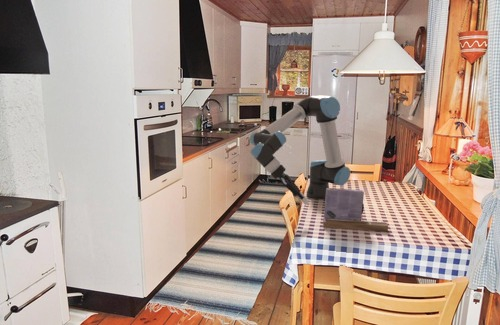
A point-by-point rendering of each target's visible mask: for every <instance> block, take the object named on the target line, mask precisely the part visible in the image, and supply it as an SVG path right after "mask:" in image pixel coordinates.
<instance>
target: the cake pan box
mask: <svg viewBox="0 0 500 325" xmlns="http://www.w3.org/2000/svg"><path fill="white" fill-rule="evenodd" d="M364 192H365V191H364V190H362V189H348V188H334V187H333V188H332V187H331V188H330V187H329V188H326V197H325V199H324V200H325V201H324V213H323V218H325V219H341V220H357V221H363V219H362V218H363V213H364V209H365V208H364V207H365V206H364V196H365V193H364Z"/></svg>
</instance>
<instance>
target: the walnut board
mask: <svg viewBox="0 0 500 325" xmlns="http://www.w3.org/2000/svg"><path fill="white" fill-rule="evenodd" d="M322 219H323V221H322V226H323V228H325V229H335V230H336V229H337V230H338V229H340V230H352V231H354V230H356V231H367V232H368V231H369V232H379V233H380V232H384V233H388V232H389V230H388V229H389V225H388V223H387V221H383V222H382V221H370V220H361V221H357V220H341V219H325V218H324V217H323V218H322Z"/></svg>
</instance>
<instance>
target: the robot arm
mask: <svg viewBox="0 0 500 325" xmlns="http://www.w3.org/2000/svg"><path fill="white" fill-rule="evenodd" d="M340 105H341V104H340V102H339V100H338V99H337V98H336V97H334V96H330V95H310V96H308V97H305V98H303V99H302V100H300V101H298V102H297V103H296V104H294V105H293V107H292V109H291V110H289V111H288V112H286V113H284V114H283V115H281V116H280V117H279V118H278V119H276V120H275V121H273V122H272V123H271V124H269V125H268V126H267V127H265V128H264V129H262V130H261V131H259V132H258V131H257V132H253V133H251V135H250V137H249V142H250V144H251V145H252V146H253V147H252V148H251V149H250V154H251V155H252V156H253V158H254V159H255V160H257V162H258V163H259V164H260V165H261V166H262V167H263V168H264V170H265V172H266V171H267V173H268V174H270V176H271V177H272V178H273V179H274V180H277V179H279V181H280V182H281V184H282V185H283V186H285V188H286V189H288V190H289V191H290V192H291V193H292V195H294V197H297V198H298V199H299V200H300V201H301V202H302V203H303V204H304V206H305V205H307V204H308V203H309V202H310V199H308V198H312V199H317V200H325V197H326V188H330V186H329V184H333V185H335V186H344V185H346V184H347V183H348V181H349V179H350V177H351V170H350V168H349V167H348V166H347V165H346V163H345V160H344V159H342V156H341V148H340V145H339V144H340V143H339V138H338V137H339V136H338V131H337V125H336V121H337V119H338V116H339V114H340V111H341V106H340ZM310 117H315V121H316V123H317V124H319V127H320V133H321V137H322V142H323V150H324V154H325V159H317V160H316V159H315V160H314V159H313V160H312V161H311V162H310V167H309V184H308V187H307V190H306V195H305V194H304V193H302V189H300V188H299V187H298V185H297V184H296V183H295V182H294V181H293V179H292V178H291V177H290V176H289V175H288V174H286V173H285V172H286V168H285V167H284V165H283V164H281V162H280V161H279V160H278V159H277V158H276V157H275V156H274V155H275V153H276V152H277V151H279V150H280V149H281V148H282V147H283V146H284V145H285V144H286V142H287V137H286V135H285V134H284V132H285V131H286V130H287V129H289V128H291V127H292V126H293V125H295V124H296V123H297V122H298V121H300V120H305V119H306V118H310ZM306 196H307V197H308V198H307V197H306Z"/></svg>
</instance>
